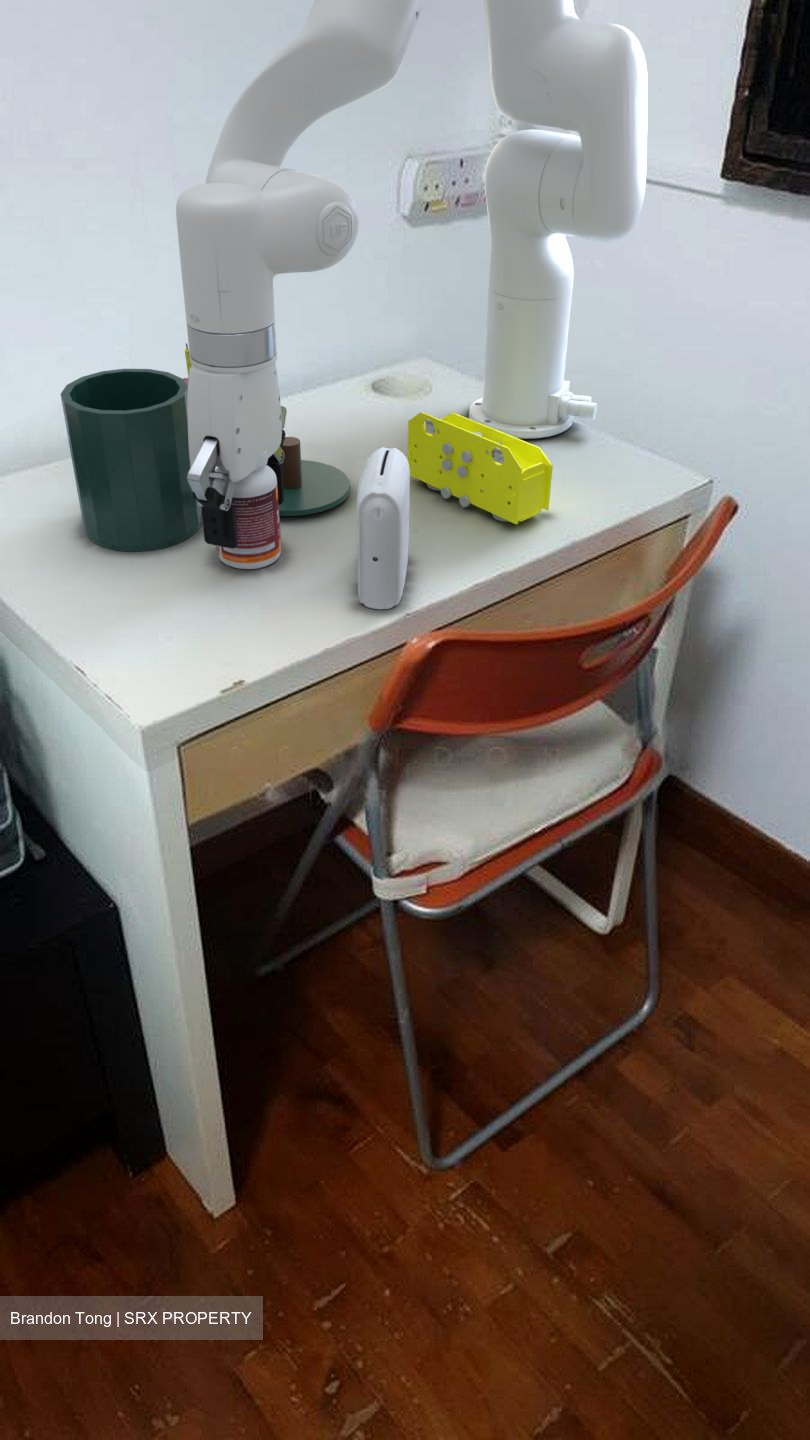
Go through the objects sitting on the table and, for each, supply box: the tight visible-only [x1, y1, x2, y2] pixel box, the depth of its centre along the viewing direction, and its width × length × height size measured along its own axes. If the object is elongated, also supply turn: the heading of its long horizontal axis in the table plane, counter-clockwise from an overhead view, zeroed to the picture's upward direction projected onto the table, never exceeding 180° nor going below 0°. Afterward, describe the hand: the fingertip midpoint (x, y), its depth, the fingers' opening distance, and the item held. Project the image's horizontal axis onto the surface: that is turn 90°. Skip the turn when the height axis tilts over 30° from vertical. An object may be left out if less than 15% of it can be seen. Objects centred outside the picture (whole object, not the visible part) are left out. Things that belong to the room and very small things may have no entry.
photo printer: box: [356, 446, 411, 610], centre depth 103 cm, size 10×4×12 cm, turn 175°
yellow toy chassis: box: [407, 411, 554, 525], centre depth 119 cm, size 16×6×8 cm, turn 43°
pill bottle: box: [212, 450, 282, 570], centre depth 108 cm, size 6×6×11 cm
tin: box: [60, 368, 202, 552], centre depth 112 cm, size 12×12×14 cm
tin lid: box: [278, 436, 351, 517], centre depth 120 cm, size 13×13×6 cm
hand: (245, 522), depth 109 cm, fingers open, 9 cm apart
